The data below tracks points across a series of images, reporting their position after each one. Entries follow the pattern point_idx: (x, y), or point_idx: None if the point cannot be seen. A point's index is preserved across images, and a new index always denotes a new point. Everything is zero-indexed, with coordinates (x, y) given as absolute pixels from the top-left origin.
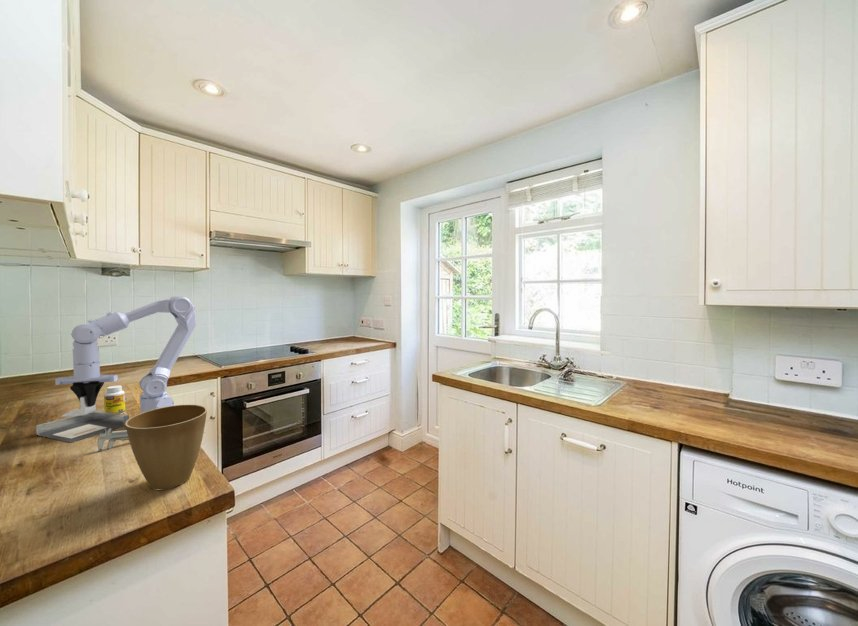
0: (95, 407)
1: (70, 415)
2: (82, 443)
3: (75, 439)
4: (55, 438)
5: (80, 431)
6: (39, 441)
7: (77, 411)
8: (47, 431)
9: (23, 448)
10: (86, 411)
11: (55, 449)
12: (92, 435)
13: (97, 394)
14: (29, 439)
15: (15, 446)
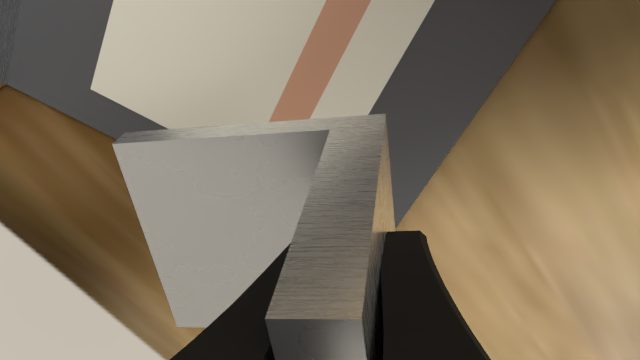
0: (383, 133)
1: None
2: (463, 291)
3: None
4: None
5: (267, 55)
6: (121, 189)
7: (252, 252)
8: (3, 44)
9: (142, 282)
10: None
11: None
12: (440, 161)
13: (477, 356)
14: (9, 135)
15: (58, 241)
